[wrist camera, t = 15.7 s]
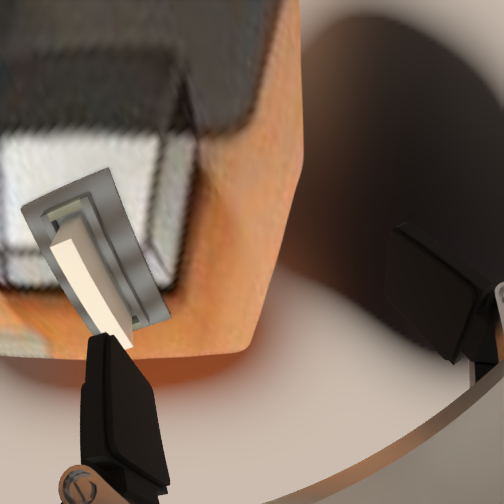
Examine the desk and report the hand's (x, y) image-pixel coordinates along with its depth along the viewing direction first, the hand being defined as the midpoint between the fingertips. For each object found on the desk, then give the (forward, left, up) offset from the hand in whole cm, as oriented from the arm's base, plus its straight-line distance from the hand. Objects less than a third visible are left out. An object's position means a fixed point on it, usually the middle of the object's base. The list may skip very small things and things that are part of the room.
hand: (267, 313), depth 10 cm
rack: (+14, -16, -34) cm, 40 cm away
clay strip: (+14, -16, -33) cm, 39 cm away
